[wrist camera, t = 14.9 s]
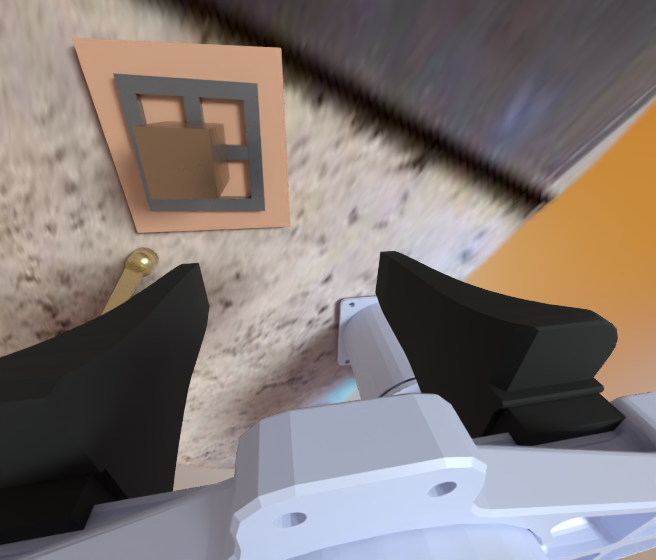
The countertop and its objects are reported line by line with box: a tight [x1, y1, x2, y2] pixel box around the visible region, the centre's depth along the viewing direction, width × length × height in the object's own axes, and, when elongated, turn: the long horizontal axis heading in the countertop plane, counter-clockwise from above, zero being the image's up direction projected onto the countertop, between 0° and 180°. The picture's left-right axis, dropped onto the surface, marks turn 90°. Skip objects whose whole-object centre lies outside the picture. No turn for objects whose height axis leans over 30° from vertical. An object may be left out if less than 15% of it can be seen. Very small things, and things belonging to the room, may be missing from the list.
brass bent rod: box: [100, 247, 158, 316], centre depth 22 cm, size 6×12×2 cm, turn 179°
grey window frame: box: [113, 73, 265, 211], centre depth 15 cm, size 7×7×5 cm
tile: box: [72, 38, 290, 233], centre depth 18 cm, size 10×10×1 cm
